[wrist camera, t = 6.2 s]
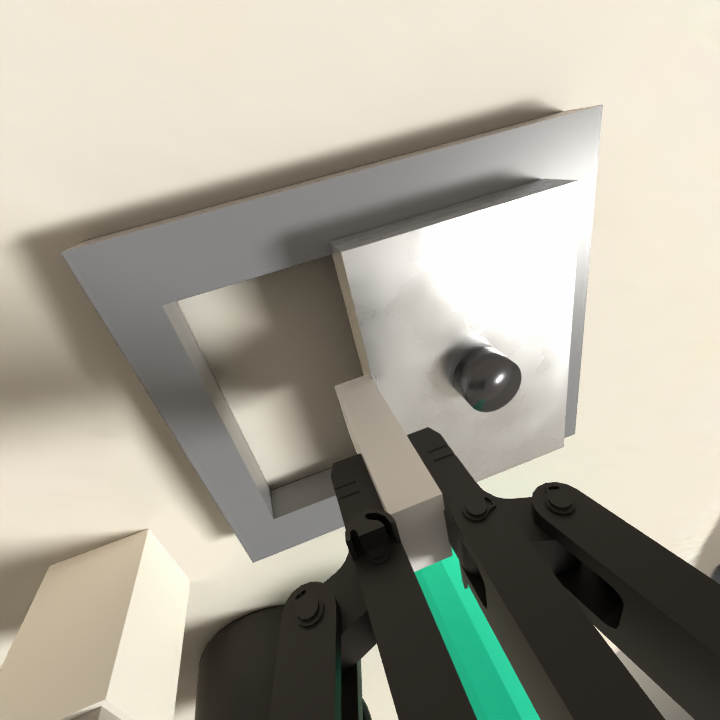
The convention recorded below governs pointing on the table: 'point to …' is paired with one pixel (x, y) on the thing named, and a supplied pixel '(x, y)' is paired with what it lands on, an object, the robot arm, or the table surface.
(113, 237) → the grey flat frame
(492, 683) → the candle
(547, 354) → the panel
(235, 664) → the mug
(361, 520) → the robot arm
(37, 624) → the plug
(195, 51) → the table surface
